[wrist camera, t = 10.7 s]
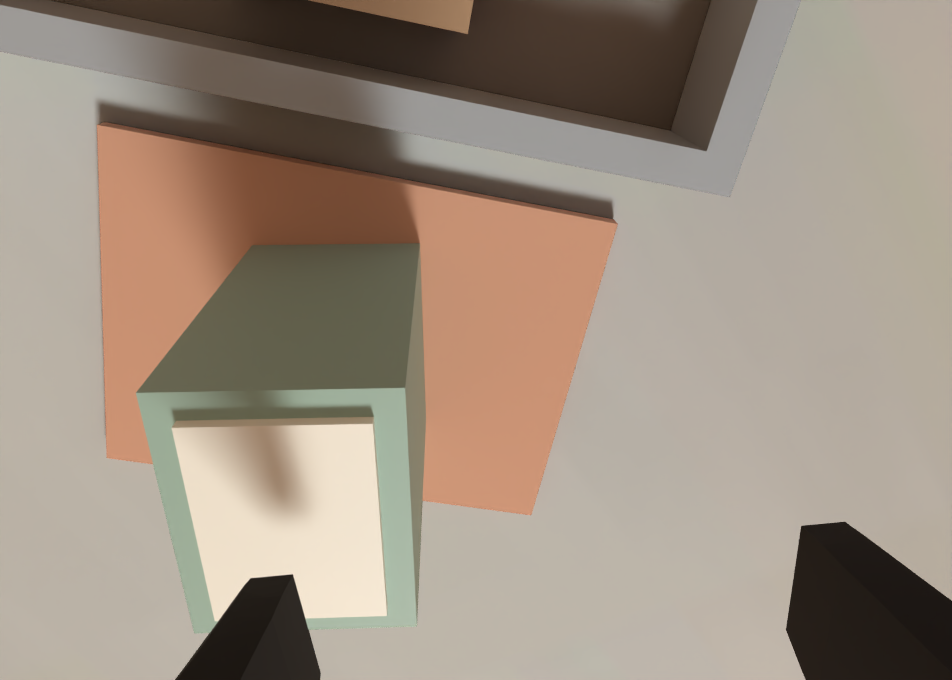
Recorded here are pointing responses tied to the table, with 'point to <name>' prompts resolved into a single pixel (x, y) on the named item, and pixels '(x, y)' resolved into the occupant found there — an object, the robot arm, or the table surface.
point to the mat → (357, 222)
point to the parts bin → (444, 89)
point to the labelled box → (298, 434)
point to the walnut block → (416, 11)
